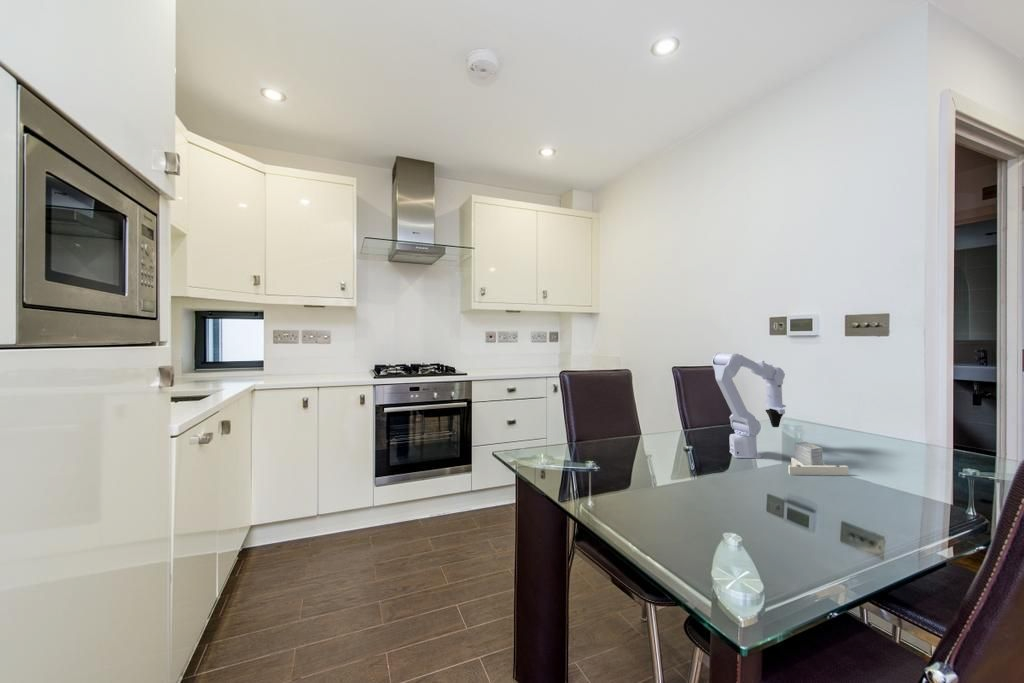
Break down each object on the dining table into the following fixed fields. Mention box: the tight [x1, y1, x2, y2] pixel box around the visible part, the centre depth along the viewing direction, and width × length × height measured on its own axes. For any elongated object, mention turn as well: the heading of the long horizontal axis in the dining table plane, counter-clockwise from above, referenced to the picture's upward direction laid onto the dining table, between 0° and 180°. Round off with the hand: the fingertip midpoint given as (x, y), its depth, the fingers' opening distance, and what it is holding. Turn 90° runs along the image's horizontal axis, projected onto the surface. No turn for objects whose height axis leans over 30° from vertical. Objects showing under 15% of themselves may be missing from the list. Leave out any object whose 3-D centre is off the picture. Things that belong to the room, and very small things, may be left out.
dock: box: [787, 457, 849, 476], centre depth 144 cm, size 18×11×3 cm, turn 77°
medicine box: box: [794, 441, 824, 466], centre depth 146 cm, size 8×4×9 cm, turn 3°
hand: (775, 426), depth 167 cm, fingers closed
